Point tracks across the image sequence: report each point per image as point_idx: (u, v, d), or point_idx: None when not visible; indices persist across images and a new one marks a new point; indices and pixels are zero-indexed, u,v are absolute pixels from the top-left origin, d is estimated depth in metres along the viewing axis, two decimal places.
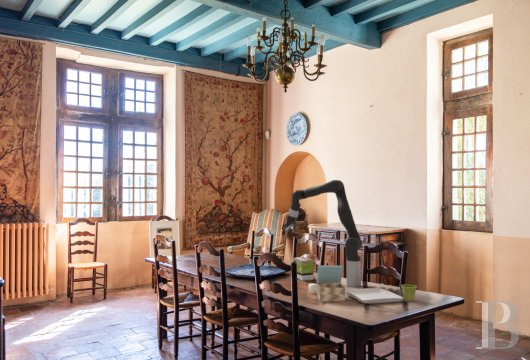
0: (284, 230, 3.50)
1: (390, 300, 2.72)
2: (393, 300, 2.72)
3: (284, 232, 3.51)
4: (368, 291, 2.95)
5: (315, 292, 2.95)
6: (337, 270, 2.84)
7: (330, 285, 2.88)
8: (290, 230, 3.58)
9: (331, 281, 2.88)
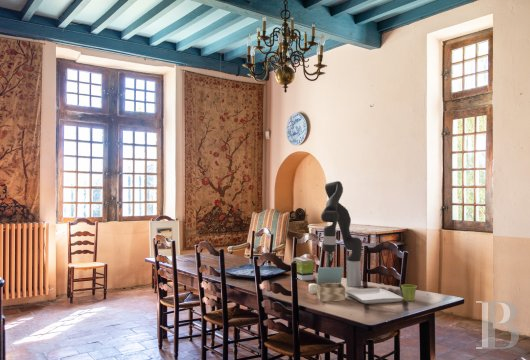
0: (330, 265, 2.83)
1: (390, 300, 2.72)
2: (393, 300, 2.72)
3: None
4: (368, 291, 2.95)
5: (315, 292, 2.95)
6: (337, 271, 2.83)
7: (330, 285, 2.88)
8: (329, 266, 2.85)
9: (331, 281, 2.88)
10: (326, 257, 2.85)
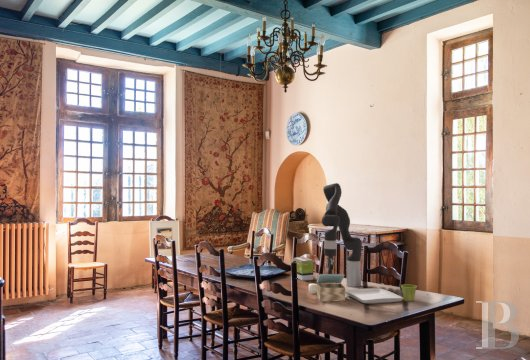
0: (331, 270, 2.81)
1: (390, 300, 2.72)
2: (393, 300, 2.72)
3: None
4: (368, 291, 2.95)
5: (315, 292, 2.95)
6: (338, 277, 2.80)
7: (330, 285, 2.88)
8: None
9: (331, 282, 2.87)
10: (327, 262, 2.83)
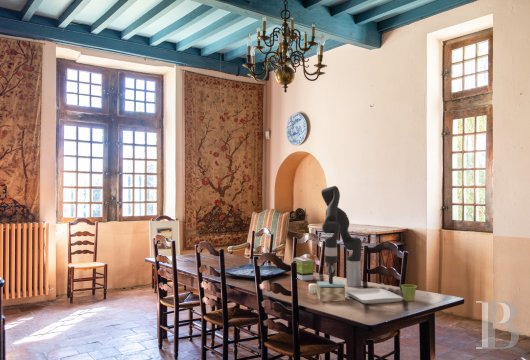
0: (332, 277, 2.79)
1: (390, 300, 2.72)
2: (393, 300, 2.72)
3: (332, 279, 2.80)
4: (368, 291, 2.95)
5: (315, 292, 2.95)
6: None
7: None
8: None
9: None
10: None
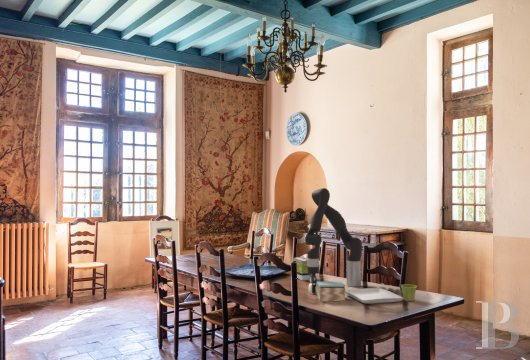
0: None
1: (390, 300, 2.72)
2: (393, 300, 2.72)
3: None
4: (368, 291, 2.95)
5: (315, 292, 2.95)
6: None
7: None
8: None
9: None
10: (310, 278, 2.99)
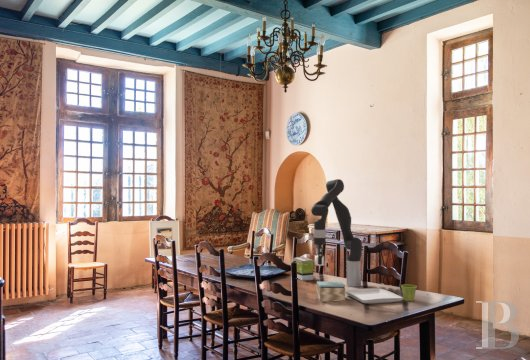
0: (321, 258, 2.87)
1: (390, 300, 2.72)
2: (393, 300, 2.72)
3: (321, 260, 2.88)
4: (368, 291, 2.95)
5: (322, 264, 2.89)
6: None
7: None
8: None
9: None
10: (316, 250, 2.93)
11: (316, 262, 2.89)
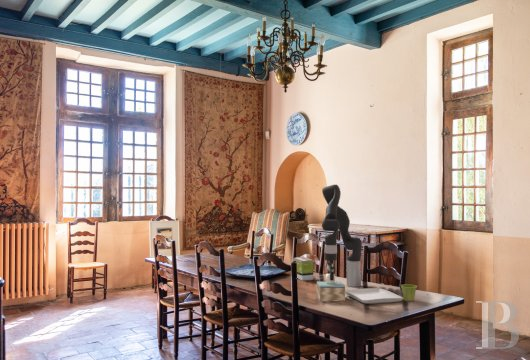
0: (333, 273, 2.77)
1: (390, 300, 2.72)
2: (393, 300, 2.72)
3: (333, 276, 2.77)
4: (368, 291, 2.95)
5: (333, 283, 2.80)
6: None
7: None
8: (329, 272, 2.86)
9: None
10: (327, 266, 2.84)
11: (327, 281, 2.80)
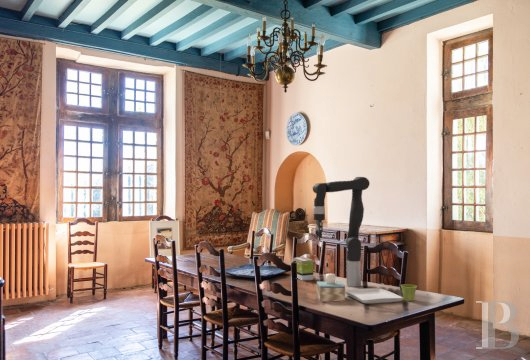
0: (321, 231, 3.07)
1: (390, 300, 2.72)
2: (393, 300, 2.72)
3: None
4: (368, 291, 2.95)
5: (333, 283, 2.80)
6: None
7: None
8: (318, 231, 3.16)
9: None
10: (316, 225, 3.14)
11: (327, 281, 2.80)
